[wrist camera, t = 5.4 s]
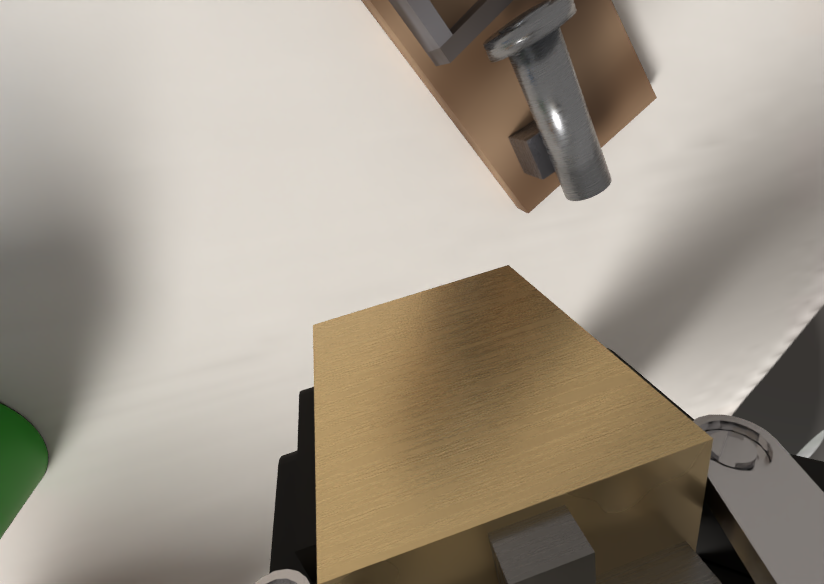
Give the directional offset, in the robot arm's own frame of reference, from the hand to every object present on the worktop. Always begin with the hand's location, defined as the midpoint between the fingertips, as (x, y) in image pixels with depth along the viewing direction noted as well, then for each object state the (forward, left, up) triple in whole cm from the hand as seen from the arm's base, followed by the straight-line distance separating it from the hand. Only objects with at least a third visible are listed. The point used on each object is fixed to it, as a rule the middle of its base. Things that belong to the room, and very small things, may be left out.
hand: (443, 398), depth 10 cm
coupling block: (0, 0, -1) cm, 1 cm away
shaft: (-2, -11, -17) cm, 21 cm away
